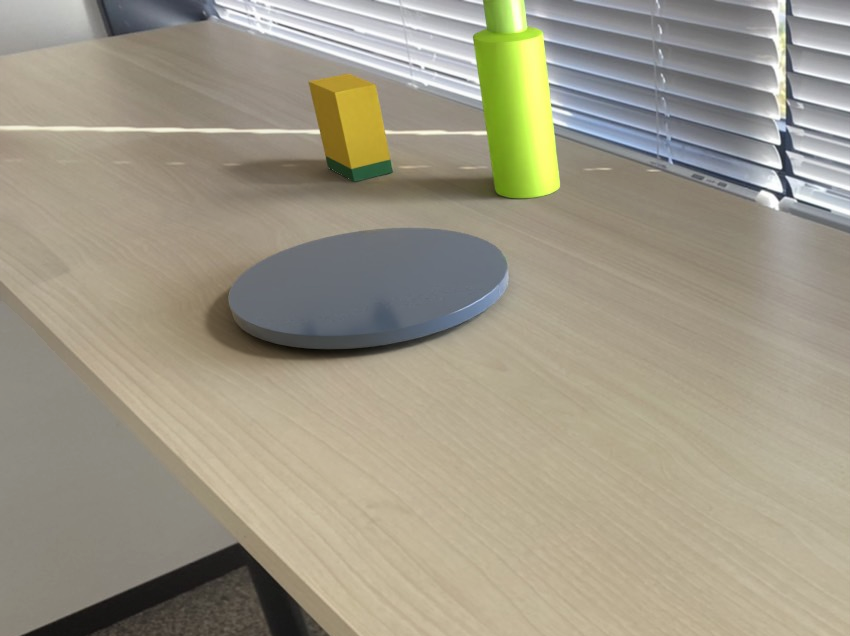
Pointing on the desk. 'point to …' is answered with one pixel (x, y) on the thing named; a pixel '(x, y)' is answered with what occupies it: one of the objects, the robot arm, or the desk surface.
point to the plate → (369, 288)
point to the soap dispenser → (516, 102)
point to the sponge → (351, 126)
